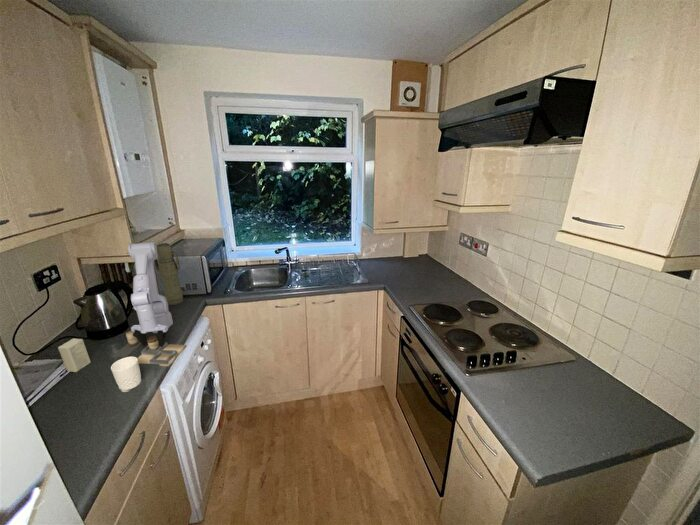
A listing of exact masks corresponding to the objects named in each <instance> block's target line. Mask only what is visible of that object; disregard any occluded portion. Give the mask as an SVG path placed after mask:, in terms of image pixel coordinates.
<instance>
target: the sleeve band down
mask: <svg viewBox="0 0 700 525" xmlns="http://www.w3.org/2000/svg"><path fill="white" fill-rule="evenodd" d="M133 333H135V331H132V330H129V331H127V332H125V337H126V340H127V344H129V346H130V347H132V346H136V345H138V344H139V340H138V339H137V338H136V337H134V336H133Z"/></svg>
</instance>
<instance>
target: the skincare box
mask: <svg viewBox="0 0 700 525" xmlns="http://www.w3.org/2000/svg"><path fill="white" fill-rule="evenodd" d="M57 348H58V349H57V350H58V352H59V354H60V357H61V359H62V362H63V365H64V366H65V370H66V371H67V372H73V373H77V372H78V371H80V370H82V369H83V368H84V367H86V366H87V365H89V364H91V361H92V360H91V359H90V356H89V354H88V351H87V348H86V345H85V342H84V339H83V338H74V337H73V338H72V339H70V340H68V341H67V342H64V343H62V345H60V346H57Z"/></svg>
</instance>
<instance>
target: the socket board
mask: <svg viewBox="0 0 700 525" xmlns="http://www.w3.org/2000/svg"><path fill="white" fill-rule="evenodd" d="M158 344H159V342H158ZM186 348H187V345H186V344H172V343H170V344H168V342H167V341H165V344H164V345H163V346H162V347H160V345H159V349H158V350H157V351H150V350H149V346H148V345H146V346H144V348H143V349H142V350H141V351H140V353H141V355H139V356H138V357H136V358H137V359H138V363H139V364H143V365H144V364H149V365H150V364H151V365H158V367H170V365H171V364H172V363H173V362H174V361H175V360H176V359H177V358H178V357H179V355H181V354H182V353H183V351H184V350H185V349H186Z"/></svg>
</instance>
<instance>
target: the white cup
mask: <svg viewBox="0 0 700 525" xmlns="http://www.w3.org/2000/svg"><path fill="white" fill-rule="evenodd" d="M137 358H138V357H136V356H126V357H121V359H118V360H116V361H115V362H113V363H112V365H111V367H110V370H111V373H112V375H113V378H114V380H115V383H116V384H117V385H118V389H119V391H120V392H122V393H123V392H124V393H126V392H129V390H131V389H133V388H136V387H137V386H138V387H139V386H141V382H142V374H141V370H140V369H141V368H140V363H138V359H137Z"/></svg>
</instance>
